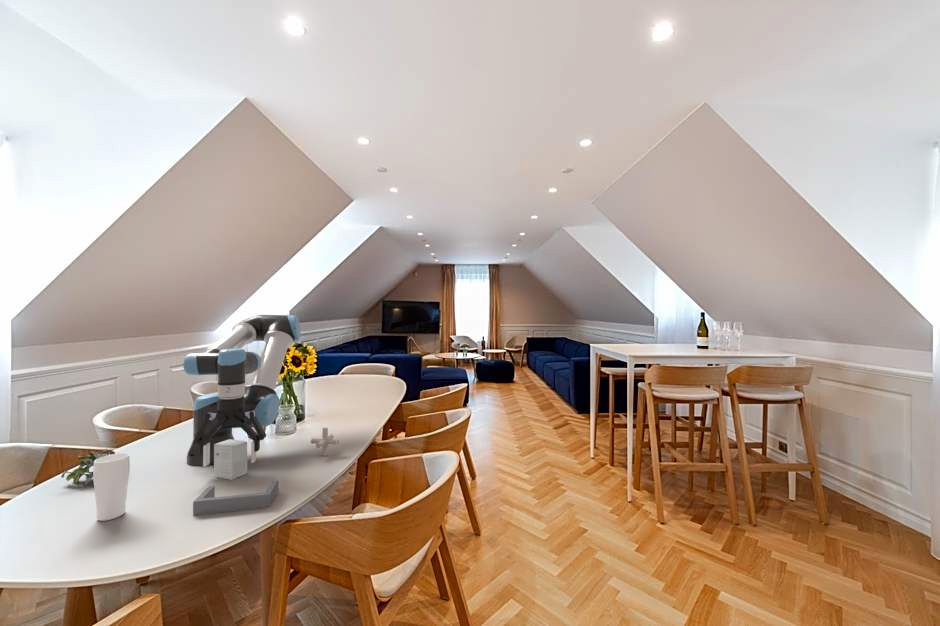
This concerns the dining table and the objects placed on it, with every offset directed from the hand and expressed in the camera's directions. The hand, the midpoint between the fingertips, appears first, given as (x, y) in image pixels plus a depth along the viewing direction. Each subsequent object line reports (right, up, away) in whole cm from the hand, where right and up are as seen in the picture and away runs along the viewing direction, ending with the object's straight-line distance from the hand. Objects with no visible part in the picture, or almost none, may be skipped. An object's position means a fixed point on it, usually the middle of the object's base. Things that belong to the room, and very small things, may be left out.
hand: (230, 463), depth 121 cm
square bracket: (+13, -4, -17) cm, 22 cm away
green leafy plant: (-39, -4, -5) cm, 39 cm away
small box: (0, -4, 0) cm, 4 cm away
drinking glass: (-15, -4, -25) cm, 29 cm away
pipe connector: (+23, -4, +18) cm, 30 cm away
